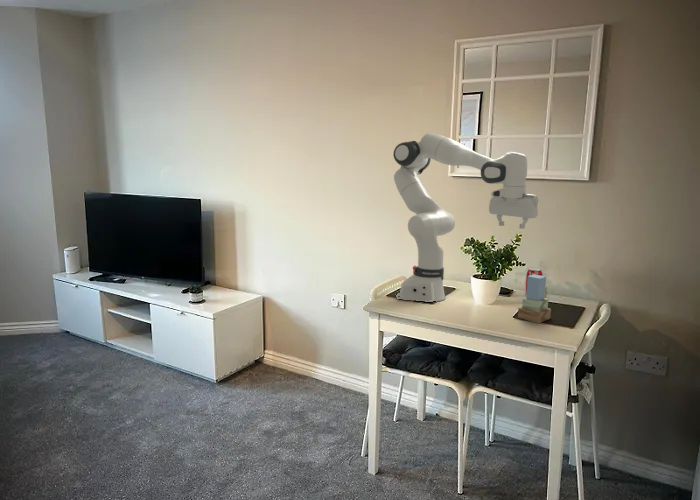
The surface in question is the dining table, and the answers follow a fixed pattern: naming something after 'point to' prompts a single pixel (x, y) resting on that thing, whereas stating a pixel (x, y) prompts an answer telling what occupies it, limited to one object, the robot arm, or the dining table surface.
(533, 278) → the top brick
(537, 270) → the soda can
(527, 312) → the tower
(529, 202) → the robot arm
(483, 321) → the dining table surface
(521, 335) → the dining table surface
